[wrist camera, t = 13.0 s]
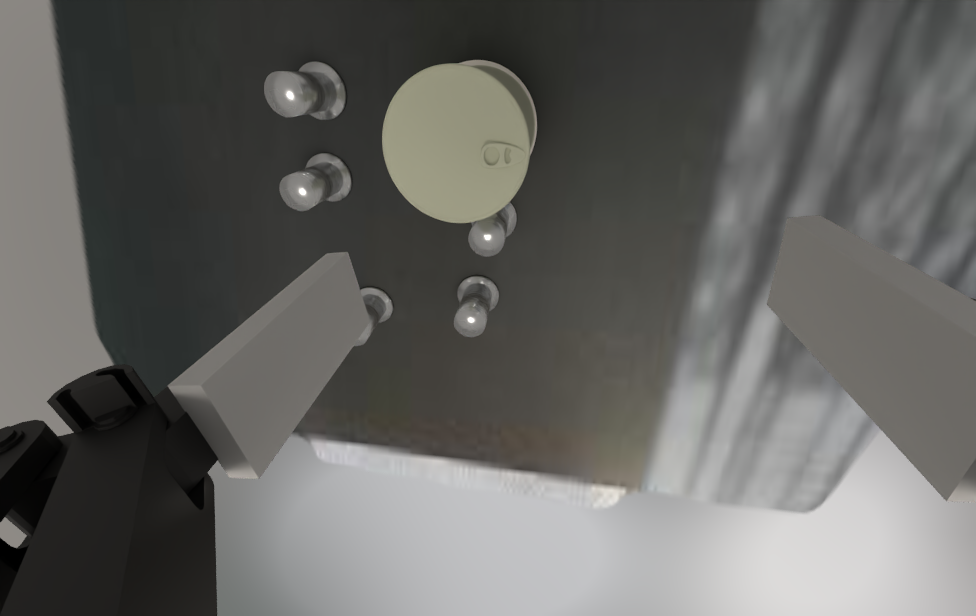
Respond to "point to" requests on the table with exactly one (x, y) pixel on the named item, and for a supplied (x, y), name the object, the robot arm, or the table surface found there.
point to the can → (459, 140)
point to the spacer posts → (331, 180)
